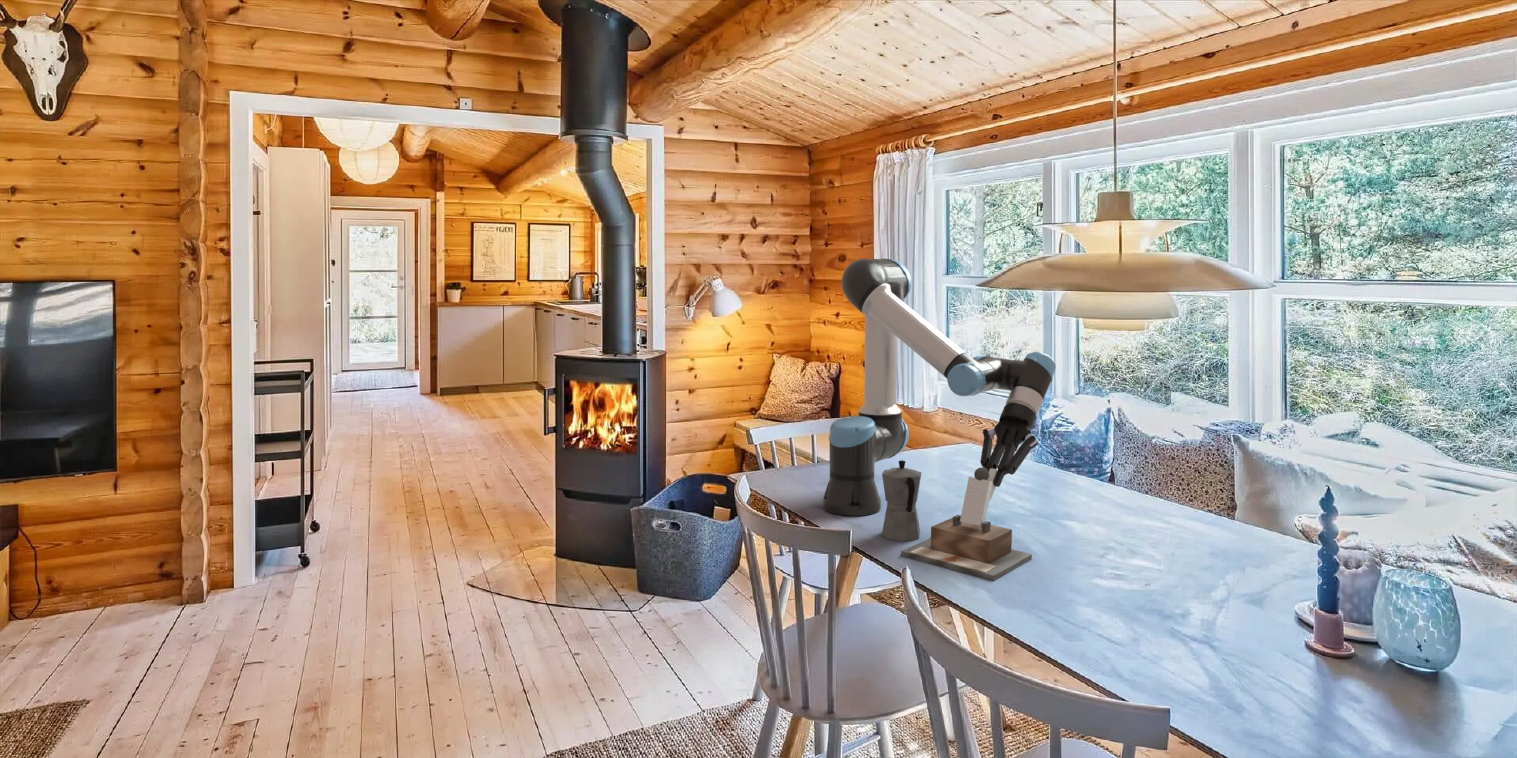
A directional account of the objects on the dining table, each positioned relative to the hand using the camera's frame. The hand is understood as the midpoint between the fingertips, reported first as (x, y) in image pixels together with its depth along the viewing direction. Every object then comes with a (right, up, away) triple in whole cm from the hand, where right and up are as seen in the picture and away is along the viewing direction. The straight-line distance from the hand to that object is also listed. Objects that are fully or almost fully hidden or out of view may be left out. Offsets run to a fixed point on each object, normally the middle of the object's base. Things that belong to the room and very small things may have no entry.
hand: (985, 496), depth 182 cm
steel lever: (-4, -6, -2) cm, 7 cm away
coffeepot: (-16, -11, +11) cm, 23 cm away
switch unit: (-5, -13, -3) cm, 14 cm away
